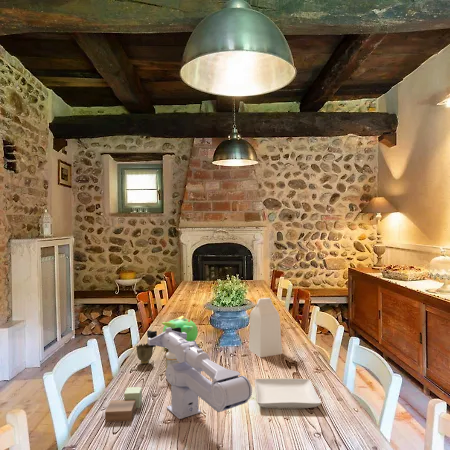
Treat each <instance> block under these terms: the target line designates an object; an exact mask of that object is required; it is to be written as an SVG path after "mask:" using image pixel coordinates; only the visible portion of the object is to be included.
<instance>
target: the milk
mask: <svg viewBox="0 0 450 450" xmlns="http://www.w3.org/2000/svg"><path fill="white" fill-rule="evenodd" d="M249 313H250V314H249V330H248V331H249V336H248V339H249V340H248V351H249V350H250V351H251V352H250V351H249V352H250V353H252V352H253V353H252V354H254V355H255V354H256V356H257V357H259V358H266V357H272V356H278V355H279V356H280V355H282V354H283V349H282V348H283V346H282V332H281V317H280V316H281V315H280V313H279V311H278V310H277V308H276V307H275V305H274V303H273V302H272V298H271V297H262V298H258V300H257V302H256V304H255V306H254V307H253V309H251V311H250V312H249Z"/></svg>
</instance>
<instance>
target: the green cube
mask: <svg viewBox="0 0 450 450" xmlns="http://www.w3.org/2000/svg"><path fill="white" fill-rule="evenodd" d="M123 396H124V397H123V400H136V409H141V404H142V402H143V387H142V386H131V387H128V386H127V388H125V391H124V393H123Z"/></svg>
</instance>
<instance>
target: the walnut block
mask: <svg viewBox="0 0 450 450" xmlns="http://www.w3.org/2000/svg"><path fill="white" fill-rule="evenodd" d="M136 410H137V408H136V400H124V399H119V400H118V399H116V400H110V402H109V404H108V405H107V407H106V410H105V411H104V417H105V418H104V419H105V420H104V422H105V423H116V422H119V423H120V422H121V423H122V422H132V420H133V418H134V415H135V412H136Z"/></svg>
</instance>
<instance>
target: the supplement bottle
mask: <svg viewBox="0 0 450 450" xmlns="http://www.w3.org/2000/svg"><path fill="white" fill-rule="evenodd" d="M175 363H179V362H178V361H177V359H176V356H175V354H174V353H172V352H171V351H170V350H168V352H166V354H165V369H166V368H167V366H168V365H169V364H175ZM165 378H166V377H165ZM166 380H167V378H166Z"/></svg>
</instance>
